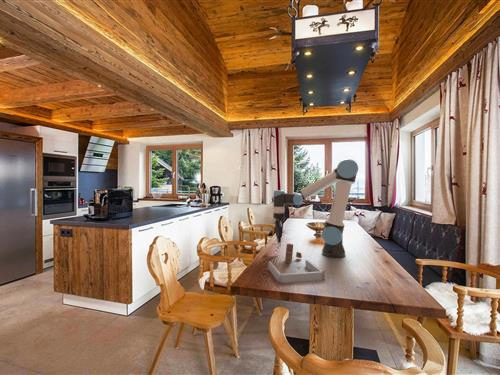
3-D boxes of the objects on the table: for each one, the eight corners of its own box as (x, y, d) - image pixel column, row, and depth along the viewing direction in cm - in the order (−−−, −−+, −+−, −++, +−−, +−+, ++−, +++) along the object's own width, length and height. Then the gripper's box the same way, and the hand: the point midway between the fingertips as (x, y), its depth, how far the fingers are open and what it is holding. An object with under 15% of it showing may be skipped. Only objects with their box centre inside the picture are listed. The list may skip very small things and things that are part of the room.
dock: (307, 266, 149) (307, 259, 149) (324, 280, 128) (324, 272, 128) (268, 268, 145) (268, 261, 145) (279, 283, 124) (279, 275, 124)
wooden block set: (292, 267, 148) (293, 250, 147) (278, 263, 152) (280, 247, 152) (301, 259, 164) (303, 244, 163) (289, 256, 168) (290, 241, 167)
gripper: (271, 211, 179) (271, 244, 180) (276, 213, 166) (276, 249, 167) (281, 211, 181) (281, 244, 181) (287, 213, 168) (286, 248, 168)
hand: (278, 246), depth 174 cm, fingers closed
